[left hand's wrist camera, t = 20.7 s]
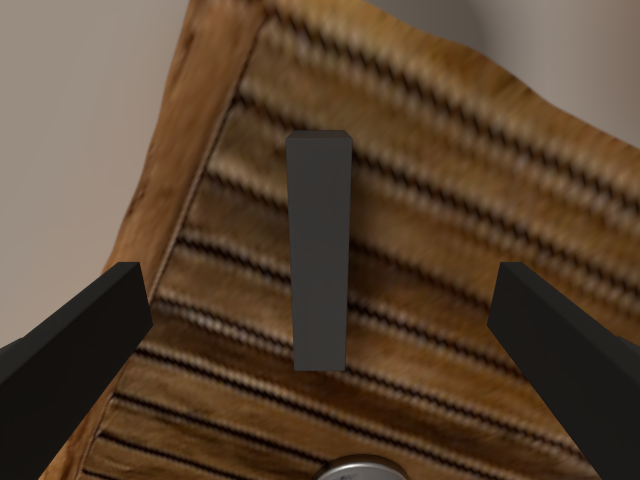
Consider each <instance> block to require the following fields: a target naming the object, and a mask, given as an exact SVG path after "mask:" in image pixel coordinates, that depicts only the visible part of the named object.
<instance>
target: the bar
mask: <svg viewBox="0 0 640 480" xmlns="http://www.w3.org/2000/svg"><path fill="white" fill-rule="evenodd" d="M286 161H287V187H288V213H289V240H290V266H291V293H292V319H293V346H294V370H295V371H345V357H346V326H347V294H348V263H349V231H350V200H351V168H352V138H351V137H350V136H349V134H348V133H347V132H346V131H345V130H294V131H293V132H292V133H291V134H290V135H289V136H288V137H287V138H286Z"/></svg>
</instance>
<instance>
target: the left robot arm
mask: <svg viewBox="0 0 640 480" xmlns="http://www.w3.org/2000/svg"><path fill="white" fill-rule="evenodd" d="M152 326H153V322H152V318H151V313H150V308H149V304H148V299H147V294H146V290H145V285H144V281H143V276H142V271H141V267H140V262H118V263H116V264H115V265H114V266H113V267H111V268H110V269H109V270H108V271H106V272H105V273H104V274H103V275H101V276H100V277H99V278H98V279H96V280H95V281H94V282H92V283H91V284H90V285H89V286H87V287H86V288H85V289H84V290H82V291H81V292H80V293H79V294H77V295H76V296H75V297H74V298H72V299H71V300H70V301H68V302H67V303H66V304H65V305H63V306H62V307H61V308H60V309H58V310H57V311H56V312H55V313H53V314H52V315H51V316H50V317H48V318H47V319H46V320H44V321H43V322H42V323H41V324H39V325H38V326H37V327H36V328H34V329H33V330H32V331H31V332H29V333H28V334H27V335H26V336H24V337H23V338H20V339H18V340H16V341H14V342H12V343H10V344H8V345H6V346H4V347H3V348H1V349H0V480H38V479H39V477H40V476H41V475H42V473H43V472H44V471H45V469H46V468H47V467H48V465H49V464H50V463H51V461H52V460H53V459H54V457H55V456H56V455H57V453H58V452H59V451H60V449H61V448H62V447H63V445H64V444H65V443H66V441H67V440H68V439H69V437H70V436H71V435H72V433H73V432H74V430H75V429H76V428H77V426H78V425H79V424H80V422H81V421H82V420H83V418H84V417H85V416H86V414H87V413H88V412H89V410H90V409H91V408H92V406H93V405H94V404H95V402H96V401H97V400H98V398H99V397H100V396H101V394H102V393H103V392H104V390H105V389H106V388H107V386H108V385H109V384H110V382H111V381H112V380H113V378H114V377H115V376H116V374H117V373H118V372H119V370H120V369H121V368H122V366H123V365H124V364H125V362H126V361H127V360H128V358H129V357H130V356H131V354H132V353H133V352H134V350H135V349H136V348H137V346H138V345H139V344H140V342H141V341H142V340H143V338H144V337H145V336H146V334H147V333H148V332H149V330H150V329H151V328H152ZM487 326H488V328H489V329H490V330H491V332H492V333H493V334H494V336H495V337H496V338H497V340H498V341H499V342H500V344H501V345H502V346H503V348H504V349H505V350H506V352H507V353H508V354H509V356H510V357H511V358H512V360H513V361H514V362H515V364H516V365H517V366H518V368H519V369H520V370H521V372H522V373H523V374H524V376H525V377H526V378H527V380H528V381H529V382H530V384H531V385H532V386H533V388H534V389H535V390H536V392H537V393H538V394H539V396H540V397H541V398H542V400H543V401H544V402H545V404H546V405H547V406H548V408H549V409H550V410H551V412H552V413H553V414H554V416H555V417H556V418H557V420H558V421H559V422H560V424H561V425H562V426H563V428H564V429H565V431H566V432H567V433H568V435H569V436H570V437H571V439H572V440H573V441H574V443H575V444H576V445H577V447H578V448H579V449H580V451H581V452H582V453H583V455H584V456H585V457H586V459H587V460H588V461H589V463H590V464H591V465H592V467H593V468H594V469H595V471H596V472H597V473H598V475H599V476H600V477H601V479H602V480H640V347H638V346H637V345H635V344H633V343H631V342H629V341H627V340H625V339H623V338H621V337H616V336H615V335H613V334H612V333H611V332H609V331H608V330H607V329H606V328H604V327H603V326H602V325H601V324H599V323H598V322H597V321H596V320H594V319H593V318H592V317H590V316H589V315H588V314H587V313H585V312H584V311H583V310H582V309H580V308H579V307H578V306H577V305H575V304H574V303H573V302H572V301H570V300H569V299H568V298H566V297H565V296H564V295H563V294H561V293H560V292H559V291H558V290H556V289H555V288H554V287H553V286H551V285H550V284H549V283H548V282H546V281H545V280H544V279H542V278H541V277H540V276H539V275H537V274H536V273H535V272H534V271H532V270H531V269H530V268H529V267H527V266H526V265H525V264H524V263H522V262H500V267H499V271H498V276H497V281H496V285H495V290H494V294H493V299H492V304H491V308H490V313H489V318H488V322H487ZM312 480H409V479H408V476H407V475H406V473H405V472H404V470H403V469H402V468H401V467H400V466H398V465H397V464H395V463H394V462H392V461H390V460H388V459H385V458H382V457H378V456H373V455H351V456H345V457H341V458H338V459H336V460H333V461H331V462H329V463H327V464H326V465H324V466H323V467H322V468H321V469H319V470H318V471H317V473H316V474H315V475H314V477H313V479H312Z"/></svg>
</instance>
